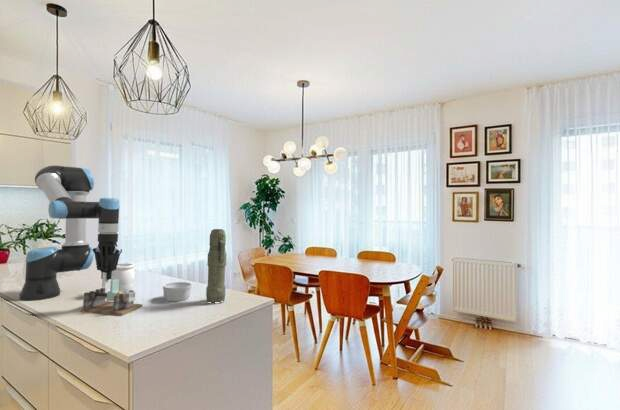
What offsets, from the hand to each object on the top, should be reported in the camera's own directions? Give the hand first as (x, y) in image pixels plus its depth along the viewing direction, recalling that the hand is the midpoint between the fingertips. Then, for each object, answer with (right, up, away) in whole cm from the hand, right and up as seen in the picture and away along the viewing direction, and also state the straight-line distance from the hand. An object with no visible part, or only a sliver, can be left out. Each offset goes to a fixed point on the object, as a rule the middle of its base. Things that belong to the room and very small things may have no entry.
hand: (105, 286), depth 141 cm
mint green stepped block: (+4, -5, -1) cm, 7 cm away
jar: (-6, -10, +22) cm, 25 cm away
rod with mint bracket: (+3, -10, -1) cm, 10 cm away
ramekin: (+24, -11, +18) cm, 32 cm away
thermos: (+44, -11, +15) cm, 48 cm away
